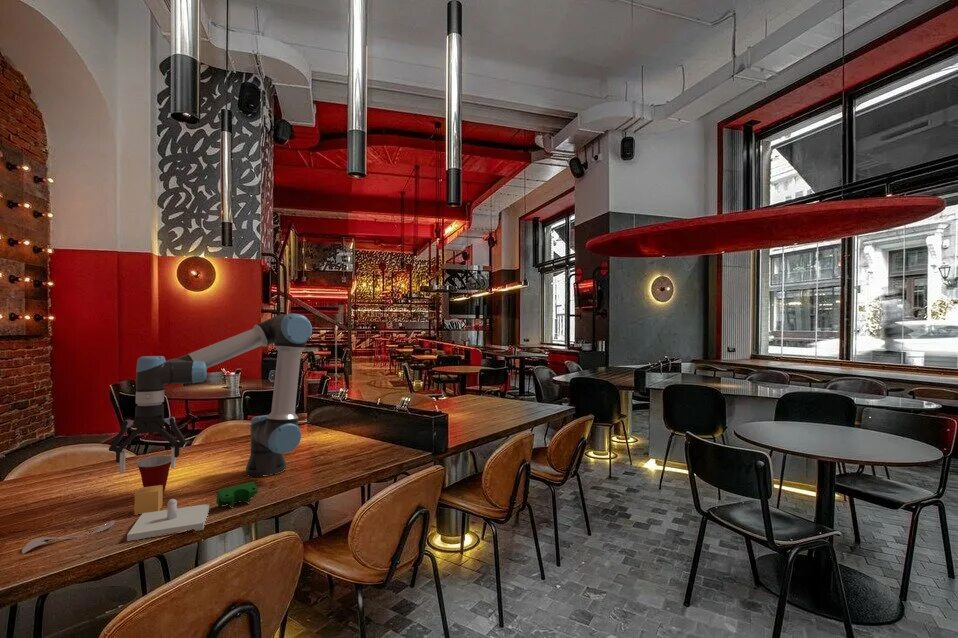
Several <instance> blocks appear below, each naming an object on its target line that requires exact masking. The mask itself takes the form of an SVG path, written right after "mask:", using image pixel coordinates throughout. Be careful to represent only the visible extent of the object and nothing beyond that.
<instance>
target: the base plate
mask: <svg viewBox="0 0 958 638" xmlns="http://www.w3.org/2000/svg"><path fill="white" fill-rule="evenodd" d="M166 506H167V507H166V509H162V510H159V511H155V512H148V513H142V515H139V517H138V519H137V520H136V522H135V523H134V524H133V526H132V527H131V529H130V530H129V531H128V533H127V534H126V538H127V539H126V542H127V541H130V540H135V539H142V538H146V537H151V536H156V535H161V534H165V533H171V532H178V531H185V530H191V529H194V530H195V531H194V532H197V531H202V530H204V528H205V526H204V524H205V525H206V523H205V521H206V522H207V520H206V518H207V519H208V517H209V514H210V512H209V510H210V511H211V503H205V504H198V505H197V504H196V505H191V506H184V507H183V506H182V507H178V500H176V499H175V498H171V499H169V500H168V502H167V505H166ZM208 513H209V514H208ZM207 516H208V517H207Z"/></svg>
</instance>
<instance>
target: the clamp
mask: <svg viewBox="0 0 958 638" xmlns="http://www.w3.org/2000/svg"><path fill="white" fill-rule="evenodd" d="M258 493H259V487H258V486H257V484H256V483H255V482H254V481H249V482H246V483H245V482H244V483H241V484H236V485H233V486H229V487H224V488H220V489H217V491H216V499H215V500H216V501H215V502H216V504H217V506H218V507H219V506H222V505H226V504H228V506H229V505H230V506H231V507H233V508H234V505H235V504H234V503H235V502H239V501H247V502H250V503H251V500H250V498H251V497H253V498H254V497H255V495H257V494H258ZM230 506H229V507H230Z"/></svg>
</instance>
